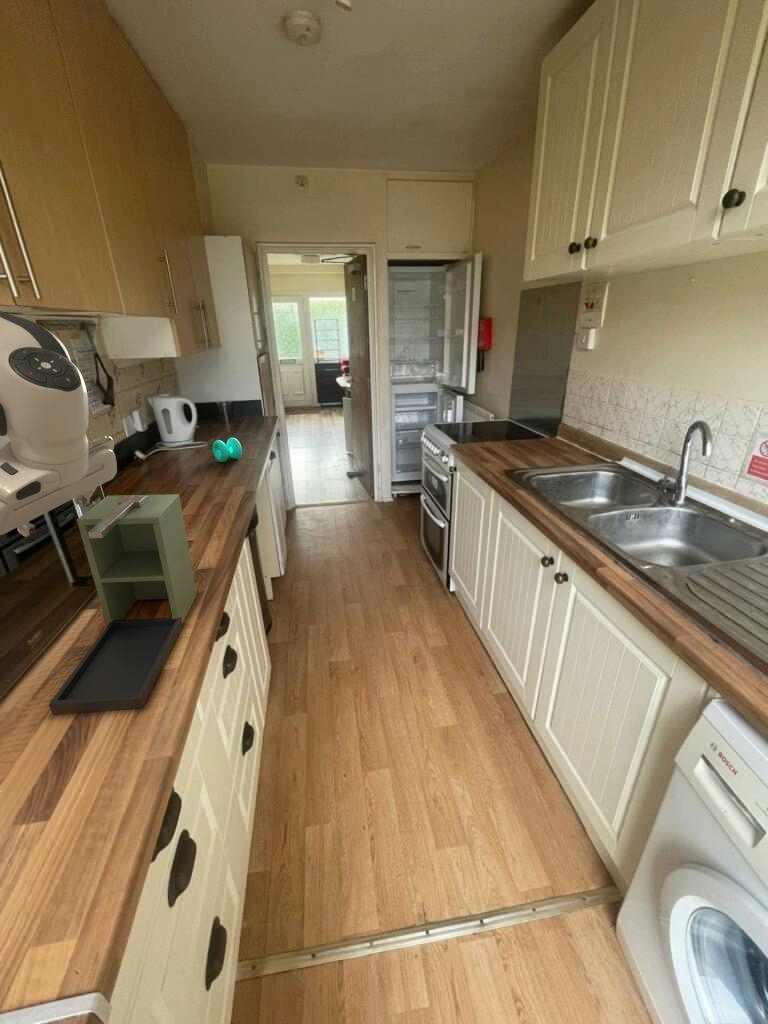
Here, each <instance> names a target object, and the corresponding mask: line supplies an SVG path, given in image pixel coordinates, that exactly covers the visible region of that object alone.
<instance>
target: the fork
mask: <svg viewBox="0 0 768 1024" xmlns="http://www.w3.org/2000/svg"><path fill="white" fill-rule="evenodd" d="M148 498H149V497H148V496H137V497H134V496H130V497H123V498H122V499H121V500H120V501H118V502H117V503H118V507H117V508H116V509H114V510H113V511H112V512H111V513H110V514H109V515H107V516H106V517H105V518H104V519H103V520H102V521H100V522H99V523H98V524H97V525H96V526H94V527H93V528H92V529H91V530H90V531H89V532H88V534H89V538H103V537H104V536H105V535H106V534H107V533H108V532H109V531H110V530H112V529H113V528H114V527H115V526H116V525H117V524H118V523H119V522H120V521H121V520H122V519H123V518H124V517H125V516H126V515H128V514H129V513H130V512H131V511H132V510H133V509H134V508H140V507H141V506H143V505H144V504H145V503H146V500H147V499H148Z"/></svg>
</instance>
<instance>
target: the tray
mask: <svg viewBox="0 0 768 1024" xmlns="http://www.w3.org/2000/svg"><path fill="white" fill-rule="evenodd" d="M183 626H184V625H183V624H182V619H181V617H179V619H173V617H172V616H169V617H150V618H148V617H147V618H132V619H129V618H128V619H123V620H113V621H112V622H109V624H108V625H107V624H106V626H105V628H104V629H103V631H102V632H101V633H100V635H99V636H98V637H97V638H96V640H95V641H94V643H92V645H91V647H90V648H89V649H88V651H86V653H85V655H84V656H83V658H81V659H80V661H79V663H78V664H77V665H76V667H75V668H74V670H73V671H72V672H71V674H70V675H69V676H68V678H67V679H66V680H65V681H64V683H63V685H62V686H61V687H60V688H59V690H58V691H57V693H56V694H55V695H54V697H52V699H51V701H50V702H49V703H48V707H49V710H50V712H51V715H52V716H57V715H58V716H59V715H60V716H61V715H72V714H73V715H74V714H84V713H85V714H87V713H98V712H111V711H124V710H125V711H126V710H138V709H139V710H140V709H143V708H144V706H145V704H146V703H147V700H148V698H149V697H150V694H151V692H152V690H153V688H154V686H155V684H156V682H157V680H158V678H159V676H160V674H161V672H162V670H163V667H164V665H165V664H166V661H167V660H168V657H169V656H170V653H171V651H172V649H173V647H174V644H175V643H176V641H177V639H178V637H179V635H180V633H181V630H182V628H183Z"/></svg>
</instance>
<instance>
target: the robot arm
mask: <svg viewBox="0 0 768 1024" xmlns="http://www.w3.org/2000/svg"><path fill="white" fill-rule="evenodd" d="M68 351H69V350H68V349H67V348H66V346H65V345H64V343H63V342H62V341H61V340H60V338H58V336H56V335H55V334H54V333H53V332H52V331H50V330H48V329H47V328H45V327H44V326H42V325H41V324H39V323H37V322H34V321H33V320H29V319H27V318H23V317H20V316H16V315H14V314H13V315H12V314H9V313H6V312H4V311H2V310H0V437H5V436H6V437H8V438H9V441H8V442H6V443H5V444H4V445H3V446H2V447H1V448H0V536H3V535H5V534H7V533H9V532H11V531H14V530H15V529H17V532H18V533H19V534H20V535H22V536H23V537H25V538H27V537H29V536H31V535H33V534H34V533H36V532H37V531H36V526H35V525H34V524H33V523H30V521H33V520H35V519H37V518H39V517H40V516H42V515H44V514H46V513H49V512H51V511H53V510H54V509H57V508H58V507H60V506H62V505H65V504H67V503H68V502H70V501H72V500H73V502H74V503H75V505H78V506H79V507H80V508H83V507H86V506H87V505H89V504H90V503H91V498H92V497H93V495H94V493H95V492H96V490H97V487H100V486H102V485H104V484H106V483H108V482H109V481H112V480H113V479H114V478H115V476H116V475H117V473H118V465H117V458H116V454H115V452H114V450H115V441H114V439H113V437H111V436H106V435H100V436H97V437H95V438H94V439H90V440H89V438H88V437H87V434H86V432H87V430H88V428H89V423H90V413H89V412H90V411H89V410H90V409H89V398H88V391H87V386H86V383H85V380H84V378H83V375H82V374H81V372H80V370H79V369H78V367H77V366H76V365H75V364H74V363H73V362H72V359H71V356H70V354H69V352H68Z"/></svg>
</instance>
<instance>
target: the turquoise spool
mask: <svg viewBox="0 0 768 1024" xmlns="http://www.w3.org/2000/svg"><path fill="white" fill-rule="evenodd" d="M212 453H213V456H214V458H215V459H216V461H218V462H219V463H225V462H226V461H227V460H228V459H229V457H230V458H232V459H234V460H238V459H240V458H241V457H242V454H243V449H242V445H241V443H240V441H239V440H238V439H237V438H235V437H230V438H228V439H227V441H226V443H225V442H224V441H222V440H220V439H219V440H218V439H217V440H215V441H214V442H213V443H212Z"/></svg>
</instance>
